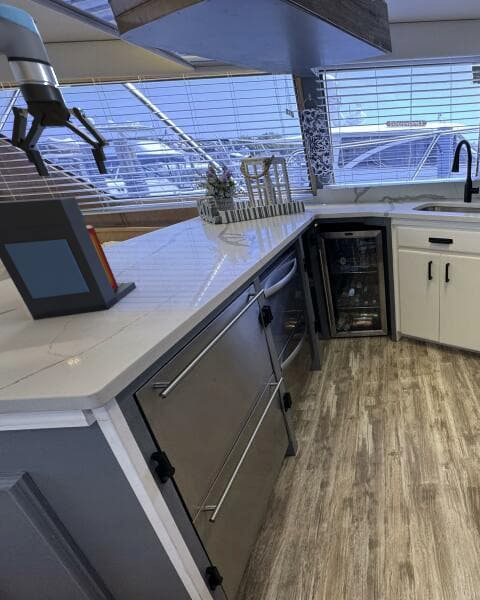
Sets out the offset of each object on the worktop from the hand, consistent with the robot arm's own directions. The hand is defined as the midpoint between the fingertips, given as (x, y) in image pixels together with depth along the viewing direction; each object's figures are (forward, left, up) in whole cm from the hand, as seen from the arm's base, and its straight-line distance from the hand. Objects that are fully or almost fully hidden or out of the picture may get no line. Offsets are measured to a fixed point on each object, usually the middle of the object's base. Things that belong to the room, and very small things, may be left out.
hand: (75, 175), depth 90 cm
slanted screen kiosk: (+4, -25, -30) cm, 39 cm away
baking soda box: (+4, -22, -28) cm, 36 cm away
